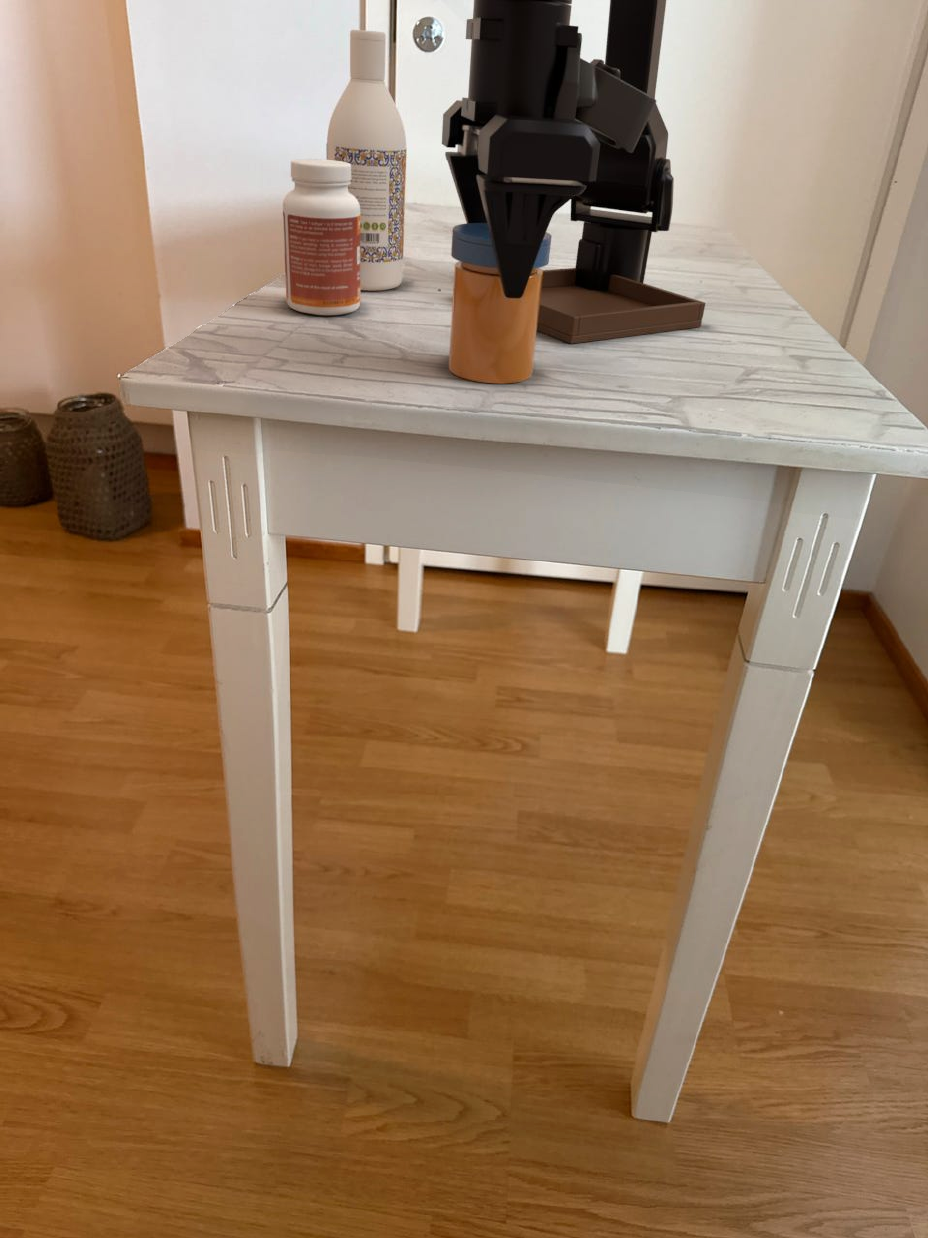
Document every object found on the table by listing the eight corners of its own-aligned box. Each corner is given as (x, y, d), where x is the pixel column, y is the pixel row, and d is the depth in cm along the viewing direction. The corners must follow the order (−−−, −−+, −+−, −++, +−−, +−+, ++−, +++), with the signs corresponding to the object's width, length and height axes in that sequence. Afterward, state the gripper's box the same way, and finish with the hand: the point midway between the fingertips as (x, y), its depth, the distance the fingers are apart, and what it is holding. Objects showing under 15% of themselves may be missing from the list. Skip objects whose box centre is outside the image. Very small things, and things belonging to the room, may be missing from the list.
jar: (492, 353, 68) (502, 234, 63) (549, 375, 64) (564, 250, 59) (431, 365, 64) (437, 239, 59) (488, 388, 60) (499, 257, 56)
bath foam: (413, 290, 83) (423, 34, 73) (343, 293, 80) (342, 27, 70) (386, 274, 88) (391, 33, 78) (318, 276, 86) (314, 26, 75)
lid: (567, 267, 59) (571, 240, 58) (480, 270, 56) (482, 241, 55) (517, 248, 64) (520, 222, 63) (434, 249, 61) (436, 222, 60)
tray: (587, 288, 89) (590, 266, 88) (701, 326, 79) (706, 302, 78) (462, 299, 82) (464, 275, 80) (570, 343, 71) (574, 317, 70)
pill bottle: (373, 313, 75) (375, 166, 69) (306, 319, 72) (302, 166, 66) (339, 296, 79) (338, 156, 73) (274, 301, 76) (268, 156, 70)
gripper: (715, 9, 46) (659, 320, 54) (607, 16, 61) (576, 258, 70) (502, -11, 44) (478, 315, 52) (447, 2, 59) (435, 252, 68)
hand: (499, 281), depth 60 cm, fingers open, 9 cm apart
